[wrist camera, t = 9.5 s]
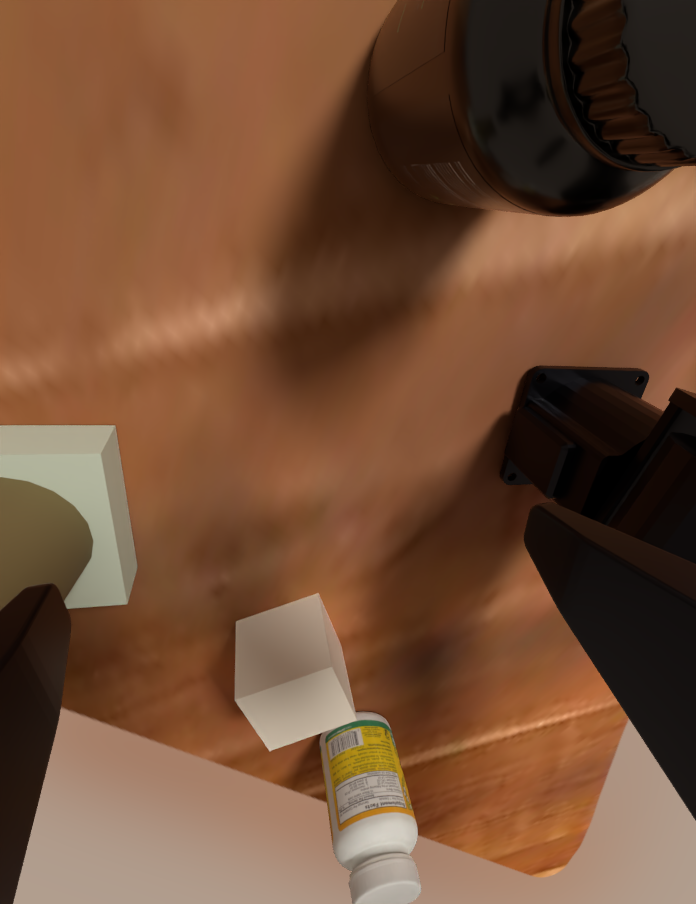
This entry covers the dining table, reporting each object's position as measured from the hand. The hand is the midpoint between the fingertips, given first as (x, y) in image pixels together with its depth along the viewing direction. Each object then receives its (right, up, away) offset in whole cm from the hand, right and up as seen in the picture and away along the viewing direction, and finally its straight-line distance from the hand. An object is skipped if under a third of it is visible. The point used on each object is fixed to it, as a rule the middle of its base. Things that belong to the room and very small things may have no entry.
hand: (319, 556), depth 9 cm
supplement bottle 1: (+1, -18, +26) cm, 32 cm away
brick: (-3, -9, +20) cm, 22 cm away
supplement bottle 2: (+4, +15, +8) cm, 18 cm away
